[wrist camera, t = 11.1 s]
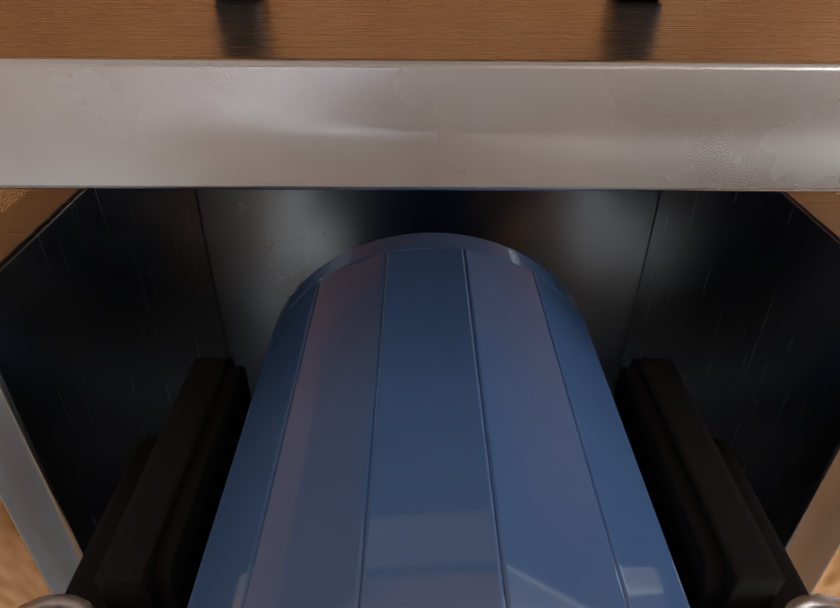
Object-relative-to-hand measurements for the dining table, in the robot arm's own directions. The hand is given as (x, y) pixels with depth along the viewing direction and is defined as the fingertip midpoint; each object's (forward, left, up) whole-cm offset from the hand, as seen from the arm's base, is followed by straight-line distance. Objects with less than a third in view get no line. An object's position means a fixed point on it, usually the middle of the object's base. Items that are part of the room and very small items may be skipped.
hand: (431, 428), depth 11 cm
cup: (0, 0, -1) cm, 1 cm away
